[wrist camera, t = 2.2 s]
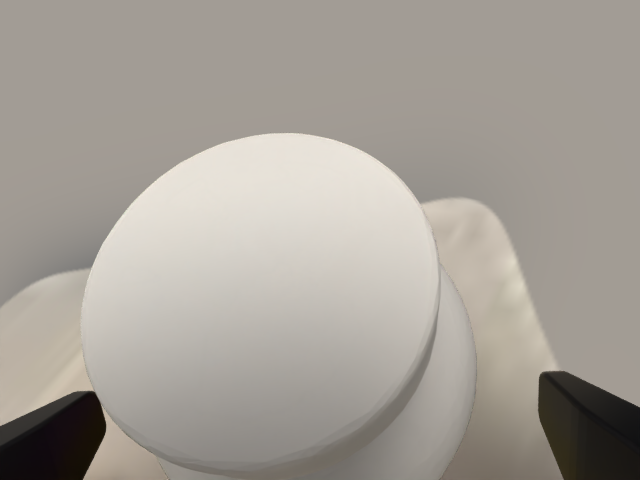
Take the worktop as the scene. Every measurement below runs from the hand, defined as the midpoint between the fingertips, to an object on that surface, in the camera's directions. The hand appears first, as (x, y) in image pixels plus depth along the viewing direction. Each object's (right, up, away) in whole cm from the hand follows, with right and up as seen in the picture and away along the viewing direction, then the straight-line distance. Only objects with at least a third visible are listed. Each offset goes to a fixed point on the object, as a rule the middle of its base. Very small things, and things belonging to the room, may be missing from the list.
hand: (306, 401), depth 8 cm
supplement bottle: (+1, -4, +8) cm, 9 cm away
